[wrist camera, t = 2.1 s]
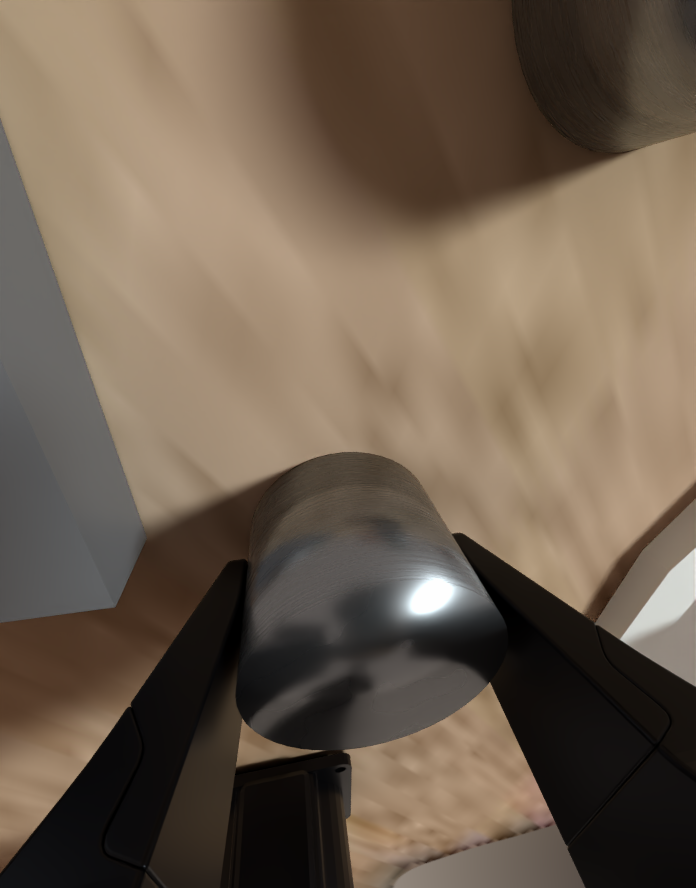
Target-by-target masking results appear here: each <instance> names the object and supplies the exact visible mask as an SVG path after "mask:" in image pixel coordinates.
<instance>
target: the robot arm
mask: <svg viewBox="0 0 696 888" xmlns="http://www.w3.org/2000/svg"><path fill="white" fill-rule="evenodd" d="M452 536H453V537H454V539H455V540H456V542H457V544H458V545H459V547H460V549H461V550H462V552H463V553H464V555H465V557H466V558H467V560H468V562H469V563H470V565H471V566H472V568H473V570H474V571H475V573H476V575H477V576H478V578H479V580H480V581H481V583H482V584H483V586H484V588H485V589H486V591H487V593H488V594H489V596H490V597H491V599H492V601H493V602H494V604H495V606H496V607H497V609H498V610H499V612H500V614H501V615H502V617H503V619H504V622H505V624H506V626H507V632H508V647H507V651H506V655H505V658H504V660H503V662H502V664H501V667H500V668H499V670H498V671H497V673H496V675H495V676H494V677H493V679H492V680H491V681H490V683H491V685H492V687H493V690H494V692H495V694H496V696H497V698H498V700H499V702H500V705H501V707H502V709H503V711H504V713H505V715H506V717H507V720H508V722H509V724H510V726H511V728H512V730H513V733H514V735H515V737H516V739H517V741H518V743H519V745H520V748H521V750H522V752H523V754H524V756H525V758H526V760H527V763H528V765H529V767H530V769H531V771H532V773H533V776H534V778H535V780H536V782H537V784H538V786H539V788H540V791H541V793H542V795H543V797H544V799H545V801H546V803H547V806H548V808H549V810H550V812H551V814H552V816H553V818H554V821H555V823H556V825H557V827H558V829H559V831H560V834H561V835H562V838H563V840H564V842H565V844H566V845H567V846H568V851H569V853H570V856H571V858H572V860H573V862H574V864H575V866H576V868H577V870H578V873H579V875H580V877H581V879H582V881H583V883H584V886H585V888H696V686H694V685H692V684H690V683H689V682H687V681H685V680H684V679H682V678H680V677H679V676H677V675H675V674H674V673H672V672H670V671H669V670H667V669H666V668H664V667H662V666H661V665H659V664H657V663H656V662H654V661H652V660H651V659H649V658H648V657H646V656H644V655H643V654H641V653H640V652H638V651H637V650H635V649H634V648H632V647H631V646H629V645H627V644H626V643H624V642H623V641H621V640H620V639H618V638H617V637H615V636H614V635H612V634H611V633H609V632H608V631H606V630H605V629H603V628H602V627H600V626H599V625H595V623H594V622H593V621H591V620H590V619H588V618H587V617H586V616H584V615H583V614H581V613H580V612H578V611H577V610H575V609H574V608H572V607H571V606H569V605H568V604H566V603H565V602H563V601H562V600H560V599H559V598H557V597H556V596H555V595H553V594H552V593H550V592H549V591H547V590H546V589H544V588H543V587H541V586H540V585H538V584H537V583H535V582H534V581H532V580H531V579H529V578H528V577H526V576H525V575H524V574H522V573H521V572H519V571H518V570H516V569H515V568H513V567H512V566H510V565H509V564H507V563H506V562H504V561H503V560H501V559H500V558H498V557H497V556H496V555H494V554H493V553H491V552H490V551H488V550H487V549H485V548H484V547H482V546H481V545H479V544H478V543H476V542H475V541H473V540H472V539H470V538H469V537H467V536H466V535H464V534H462V533H454V534H452ZM247 568H248V562H247V560H245V559H240V560H232V561H229V562H228V563H227V565H226V566H225V567H224V569H223V570H222V572H221V573H220V575H219V576H218V578H217V579H216V580H215V582H214V583H213V585H212V586H211V588H210V589H209V591H208V592H207V593H206V595H205V596H204V598H203V599H202V601H201V602H200V604H199V605H198V606H197V608H196V609H195V611H194V612H193V614H192V615H191V617H190V618H189V619H188V621H187V622H186V624H185V625H184V627H183V628H182V630H181V631H180V632H179V634H178V635H177V637H176V638H175V640H174V641H173V643H172V644H171V646H170V647H169V648H168V650H167V651H166V653H165V654H164V656H163V657H162V659H161V660H160V661H159V663H158V664H157V666H156V667H155V669H154V670H153V672H152V673H151V674H150V676H149V677H148V679H147V680H146V682H145V683H144V685H143V686H142V687H141V689H140V690H139V692H138V693H137V695H136V696H135V698H134V699H133V700H132V702H131V707H132V708H131V707H128V708H127V709H126V710H125V712H124V713H123V715H122V716H121V717H120V719H119V720H118V722H117V723H116V725H115V726H114V728H113V729H112V730H111V732H110V733H109V735H108V736H107V737H106V739H105V740H104V742H103V743H102V744H101V746H100V747H99V748H98V750H97V751H96V753H95V754H94V755H93V757H92V758H91V760H90V761H89V762H88V764H87V765H86V766H85V767H84V769H83V770H82V771H81V773H80V774H79V775H78V776H77V778H76V779H75V780H74V782H73V783H72V784H71V785H70V787H69V788H68V789H67V791H66V792H65V793H64V794H63V796H62V797H61V798H60V800H59V801H58V802H57V803H56V805H55V806H54V807H53V808H52V810H51V811H50V812H49V813H48V815H47V816H46V817H45V818H44V820H43V821H42V822H41V823H40V825H39V826H38V827H37V828H36V829H35V831H34V832H33V833H32V834H31V836H30V837H29V838H28V839H27V841H26V842H25V843H24V844H23V846H22V847H21V848H20V849H19V851H18V852H17V853H16V854H15V856H14V857H13V858H12V859H11V861H10V862H9V863H8V864H7V866H6V867H5V868H4V869H3V871H2V872H1V873H0V888H354V885H353V877H352V868H351V860H350V852H349V843H348V835H347V826H346V819H347V818H348V817H350V813H351V771H352V767H351V760H350V755H349V754H347V753H339V754H334V755H329V756H325V757H320V758H315V759H310V760H306V761H301V762H296V763H292V764H287V765H282V766H277V767H273V768H268V769H263V770H258V771H254V772H249V773H244V774H240V775H235V769H236V761H237V754H238V746H239V739H240V731H241V724H242V717H241V715H240V713H239V711H238V708H237V705H236V698H235V692H236V681H237V671H238V661H239V650H240V640H241V630H242V619H243V609H244V599H245V588H246V578H247Z"/></svg>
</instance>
